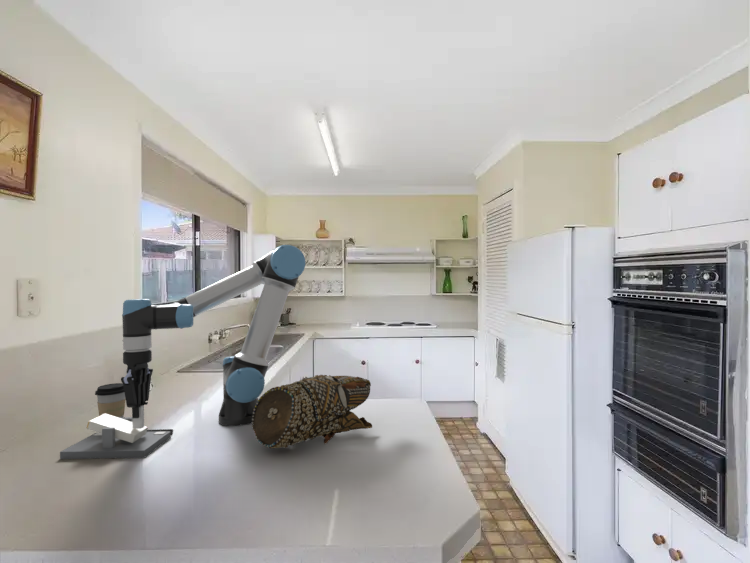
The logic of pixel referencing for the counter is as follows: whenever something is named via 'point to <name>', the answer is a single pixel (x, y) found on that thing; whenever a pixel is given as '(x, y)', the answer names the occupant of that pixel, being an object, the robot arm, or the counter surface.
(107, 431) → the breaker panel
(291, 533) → the counter surface
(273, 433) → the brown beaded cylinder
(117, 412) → the coffee cup
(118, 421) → the plate
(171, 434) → the cords
